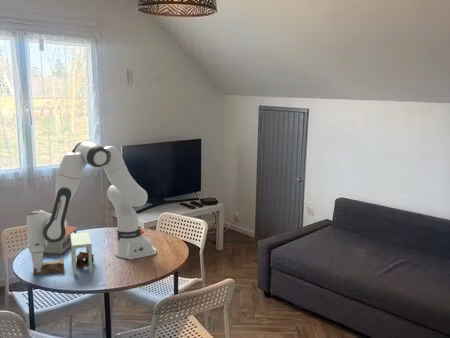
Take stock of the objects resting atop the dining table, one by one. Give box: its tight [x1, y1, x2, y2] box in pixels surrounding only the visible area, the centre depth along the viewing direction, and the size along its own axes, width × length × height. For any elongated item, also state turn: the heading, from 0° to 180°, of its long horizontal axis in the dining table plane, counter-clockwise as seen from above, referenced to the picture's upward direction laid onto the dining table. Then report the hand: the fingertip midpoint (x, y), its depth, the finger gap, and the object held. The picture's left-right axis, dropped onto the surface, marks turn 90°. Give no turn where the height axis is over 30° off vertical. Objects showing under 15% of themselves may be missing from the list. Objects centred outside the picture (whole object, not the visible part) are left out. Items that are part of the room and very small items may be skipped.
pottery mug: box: [76, 251, 95, 270], centre depth 218 cm, size 12×9×8 cm
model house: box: [43, 225, 79, 256], centre depth 243 cm, size 24×16×15 cm, turn 177°
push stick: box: [32, 258, 65, 276], centre depth 211 cm, size 14×6×4 cm, turn 112°
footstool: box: [70, 231, 94, 277], centre depth 216 cm, size 9×19×16 cm, turn 22°
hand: (39, 269), depth 209 cm, fingers closed on push stick, 3 cm apart
